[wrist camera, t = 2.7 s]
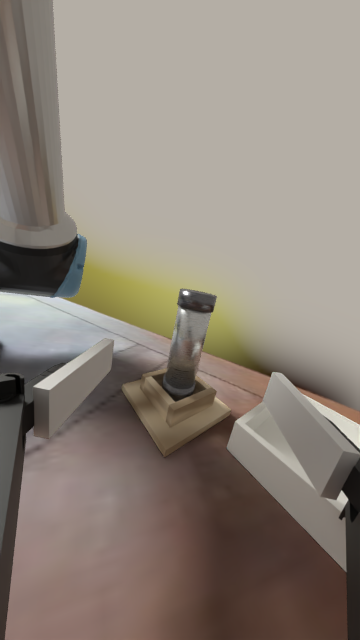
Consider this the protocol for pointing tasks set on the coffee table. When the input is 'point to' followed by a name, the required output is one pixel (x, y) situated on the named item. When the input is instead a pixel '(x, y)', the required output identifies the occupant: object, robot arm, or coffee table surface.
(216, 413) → the socket block
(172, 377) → the capped clear cylinder
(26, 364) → the coffee table surface
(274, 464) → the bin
